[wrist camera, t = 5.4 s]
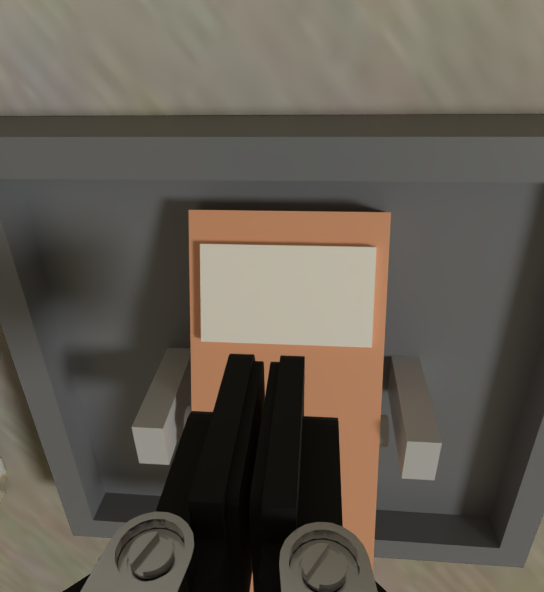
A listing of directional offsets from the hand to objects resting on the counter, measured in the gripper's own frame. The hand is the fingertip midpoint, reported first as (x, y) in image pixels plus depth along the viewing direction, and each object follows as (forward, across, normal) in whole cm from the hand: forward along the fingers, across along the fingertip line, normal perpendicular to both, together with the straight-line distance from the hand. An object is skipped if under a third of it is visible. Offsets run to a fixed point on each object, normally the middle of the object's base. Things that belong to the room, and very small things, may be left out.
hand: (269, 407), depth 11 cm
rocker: (+4, 0, +4) cm, 6 cm away
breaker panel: (+8, 0, +4) cm, 9 cm away
